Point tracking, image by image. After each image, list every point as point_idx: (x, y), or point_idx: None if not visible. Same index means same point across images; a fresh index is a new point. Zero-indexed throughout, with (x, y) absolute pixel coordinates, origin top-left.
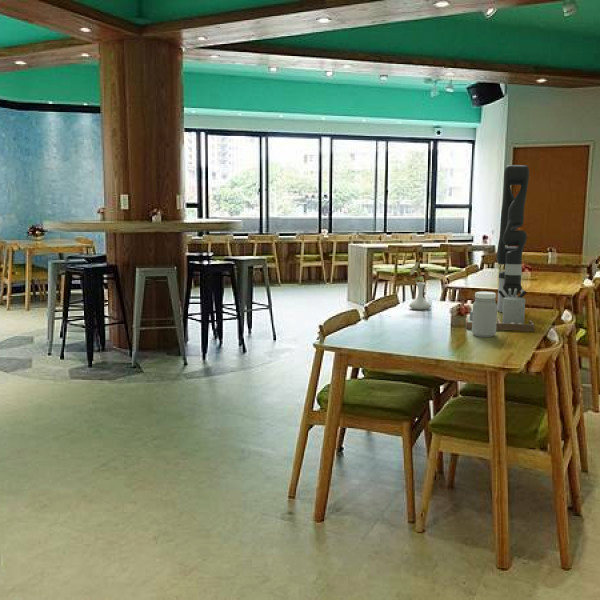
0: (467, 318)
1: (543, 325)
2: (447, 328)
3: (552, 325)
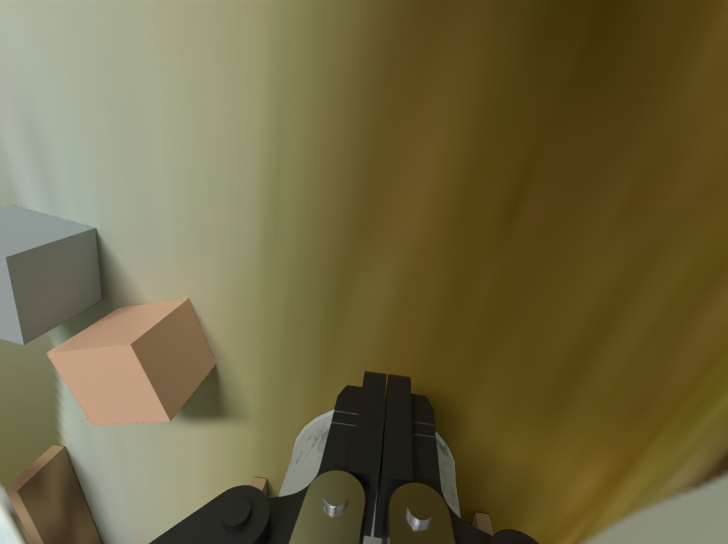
0: (26, 511)
1: (621, 480)
2: (5, 533)
3: (707, 481)
